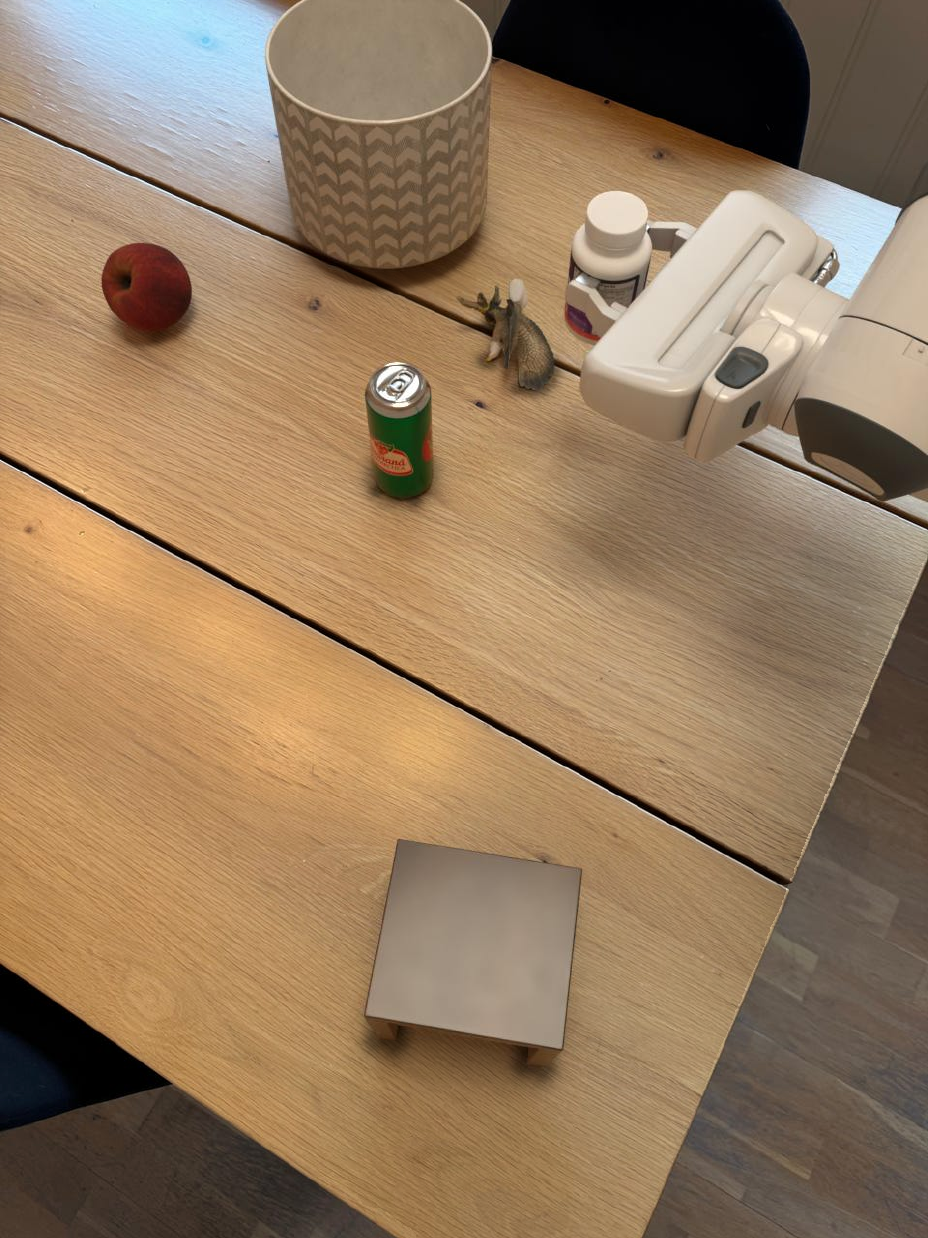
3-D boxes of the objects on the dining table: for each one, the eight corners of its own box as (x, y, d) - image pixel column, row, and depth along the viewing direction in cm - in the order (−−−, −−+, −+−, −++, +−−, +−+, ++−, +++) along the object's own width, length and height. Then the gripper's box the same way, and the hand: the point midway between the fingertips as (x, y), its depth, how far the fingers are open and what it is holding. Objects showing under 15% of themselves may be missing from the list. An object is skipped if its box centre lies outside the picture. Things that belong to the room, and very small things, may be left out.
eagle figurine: (438, 337, 93) (492, 389, 88) (469, 263, 89) (527, 314, 84) (500, 346, 98) (553, 396, 93) (531, 276, 94) (589, 325, 89)
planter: (342, 138, 107) (323, -41, 90) (513, 185, 104) (524, 8, 87) (261, 260, 98) (224, 87, 82) (443, 315, 95) (441, 146, 79)
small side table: (562, 910, 70) (582, 868, 59) (544, 1066, 66) (563, 1051, 55) (406, 885, 71) (397, 838, 60) (377, 1037, 66) (363, 1016, 56)
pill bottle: (588, 282, 76) (604, 170, 67) (651, 313, 74) (675, 204, 66) (548, 326, 74) (559, 218, 65) (611, 360, 72) (631, 253, 64)
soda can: (362, 481, 87) (349, 388, 76) (399, 443, 88) (392, 347, 78) (408, 511, 85) (402, 421, 75) (445, 472, 87) (444, 379, 76)
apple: (100, 314, 95) (72, 247, 88) (171, 275, 97) (149, 207, 90) (144, 361, 92) (118, 296, 85) (215, 319, 95) (196, 253, 88)
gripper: (867, 216, 67) (684, 133, 70) (712, 418, 59) (516, 312, 63) (836, 289, 72) (668, 207, 76) (690, 481, 64) (511, 380, 68)
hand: (598, 256), depth 69 cm, fingers closed on pill bottle, 5 cm apart
